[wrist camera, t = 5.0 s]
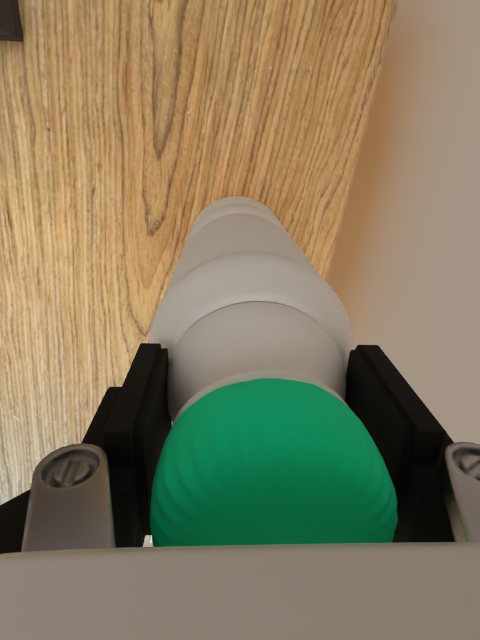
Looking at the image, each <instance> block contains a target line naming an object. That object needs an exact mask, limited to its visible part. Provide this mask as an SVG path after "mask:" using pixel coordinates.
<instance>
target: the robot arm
mask: <svg viewBox="0 0 480 640" xmlns="http://www.w3.org/2000/svg"><path fill="white" fill-rule="evenodd" d="M168 363H169V359H168V349H167V348H161V344H160V343H141V344H140V346H139V348H138V351H137V353H136V355H135V358H134V360H133V362H132V365H131V367H130V369H129V372H128V374H127V377H126V379H125V381H124V384H123V386H122V387H109V388H108V390H107V391H106V393H105V395H104V397H103V399H102V401H101V404H100V406H99V408H98V410H97V412H96V414H95V416H94V418H93V420H92V422H91V424H90V426H89V428H88V430H87V433H86V435H85V437H84V439H83V441H82V443H81V444H72V445H68V446H65V447H61V448H59V449H57V450H55V451H53V452H51V453H50V454H48V455H47V456H46V457H45V458H43V459H42V460H41V461H40V463H39V464H38V465H37V466H36V468H35V471H34V474H33V478H32V484H31V489H30V490H28V491H26V492H24V493H22V494H20V495H19V496H17V497H15V498H13V499H11V500H9V501H8V502H6V503H4V504H2V505H0V640H480V445H478V444H475V443H469V442H457V443H454V442H453V441H452V439H451V438H450V437H449V436H448V434H447V433H446V431H445V430H444V429H443V427H442V426H441V425H440V424H439V422H438V421H437V420H436V418H435V417H434V416H433V415H432V413H431V412H430V411H429V410H428V408H427V407H426V406H425V404H424V403H423V402H422V401H421V399H420V398H419V397H418V396H417V394H416V393H415V392H414V390H413V389H412V388H411V387H410V385H409V384H408V383H407V382H406V380H405V379H404V378H403V376H402V375H401V374H400V373H399V371H398V370H397V369H396V368H395V366H394V365H393V364H392V363H391V361H390V360H389V359H388V357H387V356H386V355H385V354H384V352H383V351H382V350H381V348H380V347H379V346H378V345H358V346H357V347H356V349H355V350H351V351H350V353H349V359H348V365H347V372H346V396H345V402H346V404H347V405H348V406H349V408H350V409H351V410H352V411H353V412H354V414H355V415H356V416H357V417H358V418H359V419H360V420H361V422H362V423H363V425H364V426H365V428H366V429H367V431H368V433H369V434H370V436H371V437H372V439H373V441H374V443H375V444H376V446H377V448H378V450H379V452H380V454H381V456H382V458H383V460H384V463H385V465H386V468H387V470H388V472H389V475H390V477H391V480H392V483H393V485H394V488H395V492H396V497H397V514H398V522H397V526H396V529H395V530H394V537H393V541H392V543H331V544H269V545H217V546H171V547H143V543H144V538H145V535H152V533H151V528H150V508H151V496H152V486H153V481H154V476H155V472H156V467H157V464H158V461H159V458H160V454H161V451H162V448H163V445H164V443H165V440H166V438H167V436H168V434H169V432H170V430H171V428H172V420H171V417H170V414H169V410H168V397H167V377H168Z"/></svg>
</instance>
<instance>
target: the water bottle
mask: <svg viewBox="0 0 480 640" xmlns="http://www.w3.org/2000/svg"><path fill="white" fill-rule="evenodd" d="M148 343H160V344H161V348H167V349H168V359H169V363H168V377H167V397H168V410H169V414H170V417H171V419H172V422H173V426H172V428H171V430H170V432H169V434H168V436H167V438H166V440H165V443H164V445H163V448H162V451H161V454H160V458H159V461H158V464H157V467H156V472H155V476H154V481H153V486H152V496H151V508H150V528H151V533H152V541H153V547H171V546H217V545H269V544H331V543H392V541H393V537H394V530H395V529H396V526H397V522H398V514H397V497H396V492H395V488H394V485H393V483H392V480H391V477H390V475H389V472H388V470H387V468H386V465H385V463H384V460H383V458H382V456H381V454H380V452H379V450H378V448H377V446H376V444H375V443H374V441H373V439H372V437H371V436H370V434H369V433H368V431H367V429H366V428H365V426H364V425H363V423H362V422H361V420H360V419H359V418H358V417H357V416H356V415H355V414H354V412H353V411H352V410H351V409H350V408H349V406H348V405H347V404H346V402H345V396H346V372H347V365H348V359H349V353H350V351H351V350H354V339H353V332H352V328H351V324H350V321H349V318H348V315H347V312H346V310H345V308H344V306H343V304H342V303H341V301H340V299H339V297H338V296H337V294H336V293H335V292H334V290H333V289H332V288H331V287H330V285H329V284H328V283H327V282H326V281H325V280H324V279H323V278H322V277H321V276H319V275H318V273H317V272H316V270H315V268H314V267H313V265H312V264H311V262H310V261H309V259H308V258H307V256H306V255H305V254H304V252H303V251H302V250H301V249H300V247H299V246H298V245H297V244H296V243H295V241H294V240H293V239H292V238H291V237H290V236H289V234H288V233H287V231H286V229H285V228H284V227H283V225H282V224H281V223H280V222H279V220H278V219H277V217H276V216H275V214H274V213H273V212H272V211H271V210H270V209H269V208H268V207H266V206H265V205H264V204H262V203H261V202H259V201H257V200H254V199H252V198H248V197H243V196H230V197H225V198H221V199H219V200H216V201H214V202H212V203H211V204H209V205H208V206H206V207H205V208H204V209H203V210H202V211H201V212H200V213H199V214H198V216H197V217H196V219H195V220H194V222H193V224H192V226H191V229H190V232H189V235H188V237H187V239H186V242H185V245H184V249H183V252H182V254H181V255H180V257H179V259H178V262H177V264H176V266H175V269H174V271H173V274H172V276H171V279H170V282H169V285H168V288H167V292H166V295H165V297H164V298H163V300H162V301H161V303H160V305H159V307H158V309H157V311H156V313H155V316H154V319H153V321H152V325H151V329H150V333H149V339H148Z"/></svg>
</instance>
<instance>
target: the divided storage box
mask: <svg viewBox="0 0 480 640" xmlns="http://www.w3.org/2000/svg"><path fill="white" fill-rule="evenodd" d="M0 40H12V41H23V36H22V30H21V23H20V16H19V10H18V3H17V0H0Z"/></svg>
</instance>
